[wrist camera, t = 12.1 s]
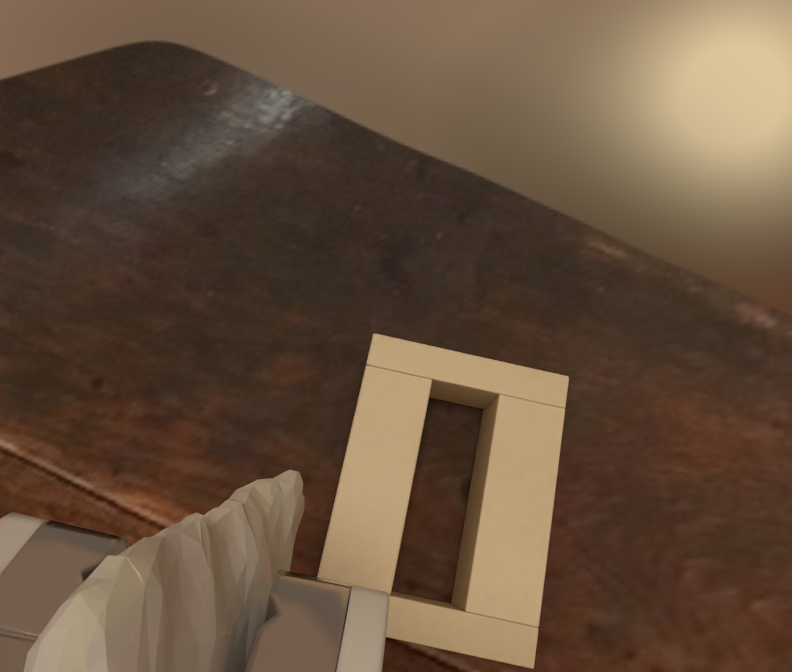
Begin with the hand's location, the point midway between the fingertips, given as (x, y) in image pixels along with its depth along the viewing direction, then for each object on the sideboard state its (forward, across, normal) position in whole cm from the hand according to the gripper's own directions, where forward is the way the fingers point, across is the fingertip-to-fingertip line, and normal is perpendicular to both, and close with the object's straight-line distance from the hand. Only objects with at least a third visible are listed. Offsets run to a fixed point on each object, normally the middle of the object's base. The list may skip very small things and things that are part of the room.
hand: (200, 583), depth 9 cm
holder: (+18, -6, +12) cm, 22 cm away
